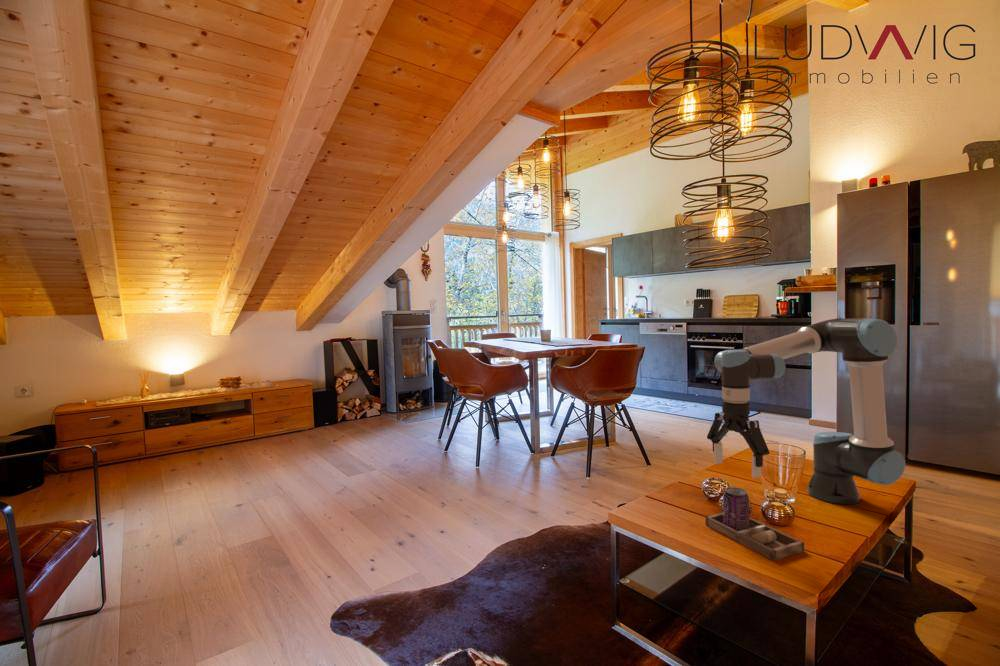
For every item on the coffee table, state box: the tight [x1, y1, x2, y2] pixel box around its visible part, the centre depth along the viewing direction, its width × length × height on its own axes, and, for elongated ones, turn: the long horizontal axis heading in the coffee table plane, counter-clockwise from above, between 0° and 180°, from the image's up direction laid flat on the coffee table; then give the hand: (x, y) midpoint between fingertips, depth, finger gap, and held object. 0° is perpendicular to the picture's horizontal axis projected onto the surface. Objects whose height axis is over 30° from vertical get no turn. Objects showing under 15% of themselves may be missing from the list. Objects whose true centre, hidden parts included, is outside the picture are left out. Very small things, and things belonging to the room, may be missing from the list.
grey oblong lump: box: [750, 530, 777, 544], centre depth 132 cm, size 7×3×3 cm
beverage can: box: [722, 486, 750, 531], centre depth 140 cm, size 7×7×12 cm
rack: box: [705, 512, 805, 562], centre depth 135 cm, size 12×23×4 cm, turn 22°
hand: (736, 469), depth 140 cm, fingers open, 13 cm apart
